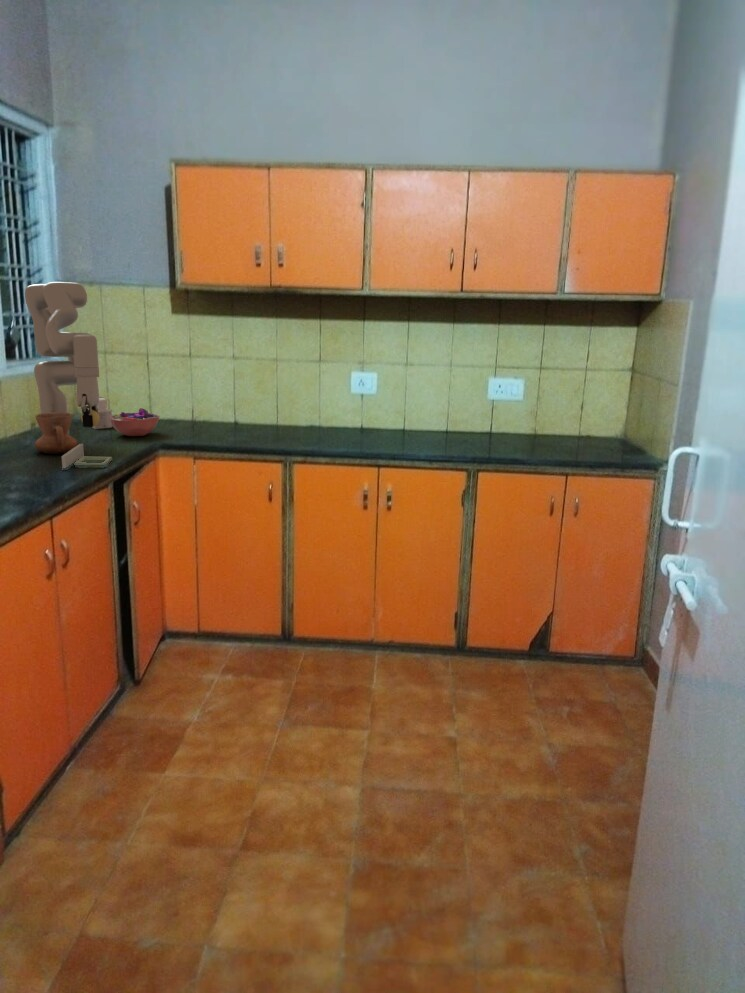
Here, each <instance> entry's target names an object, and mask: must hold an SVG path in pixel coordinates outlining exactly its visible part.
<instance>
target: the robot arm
mask: <svg viewBox="0 0 745 993" xmlns="http://www.w3.org/2000/svg"><path fill="white" fill-rule="evenodd" d="M24 299H25V304H26V306H27V310H28V311H29V314H30V315H31V319H32V324H33V333H34V343H35V344H34V345H35V348H36V352H37V354H38V355H39V356H40V357H43V358H67V359H68V360H43V361H40V362H37V363H36V364H35V365H34V369H33V373H34V379H35V381H36V385H37V386H36V387H37V389H38V397H39V399H38V400H39V406H40V409H39V411H40V414H41V413H48V412H51V413H54V412H63V413H68V406H67V405H68V404H67V396H66V395H65V393H64V392H63V391H62V390H61V389H60V388H59V387H63V386H76V406H77V407H79V408H81V415H82V419H83V423H82V427H83V428H92V427H93V416H92V415H91V410H94V411H96V412H97V413H98V407H97V404H98V403H99V397H100V392H99V383H98V378H99V377H100V367H99V351H98V339H97V337H96V336H95V335H93V334H91V333H89V332H88V333H87V332H71V331H60V330H62V329H65V328H67V327H69V326H71V325H73V324H74V323H76V321H77V320H78V317H79V313H78V310H77V309H80V308H83V307H85V306H86V305H87V302H88V294H87V290H86V289H85V287H84V286H83V285H82V284H81V283H79V282H71V281H69V282H67V281H51V282H48V283H47V282H46V283H44V284H43V283H36V284H31V285H28V286H26V287H25V289H24ZM88 409H89V410H88ZM68 434H69V435H70V430H69V431H68Z"/></svg>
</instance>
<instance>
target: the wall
mask: <svg viewBox="0 0 745 993" xmlns="http://www.w3.org/2000/svg"><path fill="white" fill-rule="evenodd" d="M84 450H85V449H84V443H79V444H77V446H76V447H74V448H73V449H71V450H70V451H69V452H67V453H63V455H62V456H61V466H62V469H63V468H66V467H68V466H69V465H71V464H72V463H74V462H75V461H77V460H78V459H80V458H81V457H83V456H85V453H84V452H85V451H84Z"/></svg>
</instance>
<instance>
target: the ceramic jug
mask: <svg viewBox="0 0 745 993" xmlns="http://www.w3.org/2000/svg"><path fill="white" fill-rule="evenodd" d="M72 419H73V417H72V413H70V412H67V413H63V412H54V413H51V412H48V413H41V412H40V413H37V414H36V415H35V420H36V422H37V425H38V427H39V429H40V430H41V433H42V435H41V436H40V437H39V438H37V439H36V441H35V442H34V447H35V449H36V450H37V451H39V452H41V453H44V454H52V455H60V454H59V453H61V454H66V453H67V452H69V451H70V450H71V449H73V448H74V447H76V446H77V445H78V440H77V439H76V438H74V436H71V435H70V433H69V434H68V431H69V432H70V429H71V428H70V427H71V423H72Z"/></svg>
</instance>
